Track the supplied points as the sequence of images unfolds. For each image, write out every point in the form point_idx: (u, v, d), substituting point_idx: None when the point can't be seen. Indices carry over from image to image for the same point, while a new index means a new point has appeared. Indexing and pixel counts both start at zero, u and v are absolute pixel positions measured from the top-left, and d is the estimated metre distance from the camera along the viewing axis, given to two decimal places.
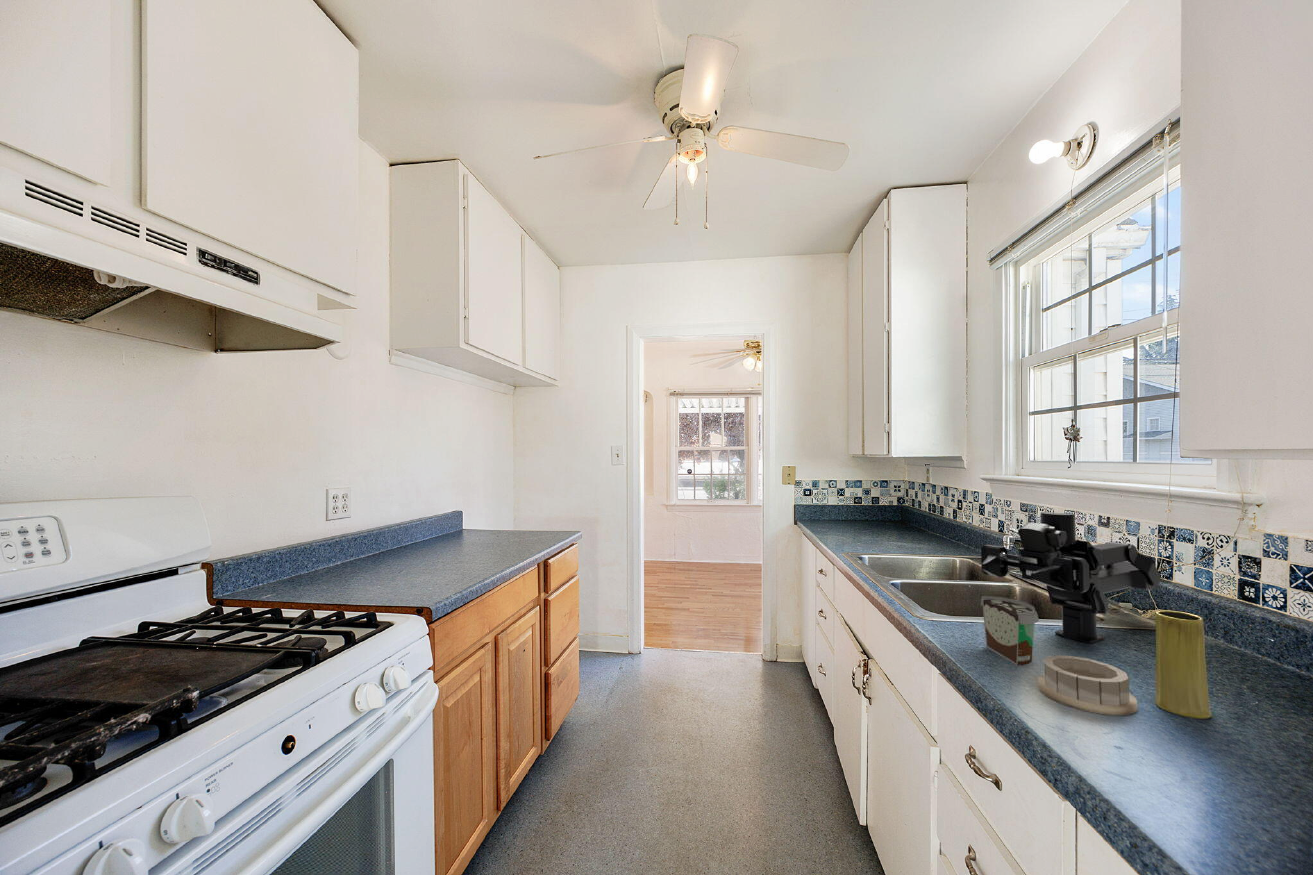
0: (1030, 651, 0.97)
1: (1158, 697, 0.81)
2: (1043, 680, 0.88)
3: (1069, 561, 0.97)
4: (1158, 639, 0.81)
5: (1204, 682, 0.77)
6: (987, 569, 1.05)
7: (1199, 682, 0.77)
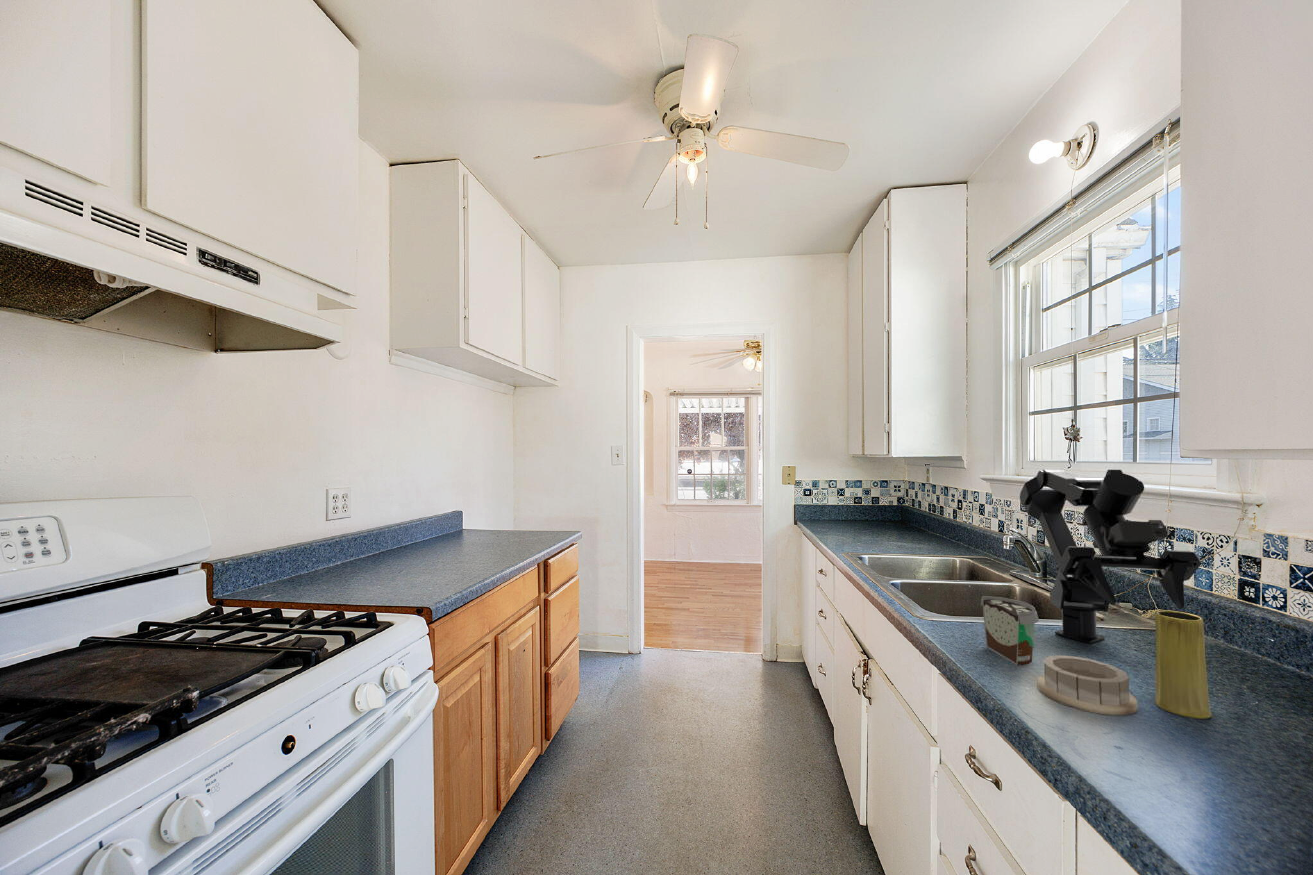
0: (1030, 651, 0.97)
1: (1158, 697, 0.81)
2: (1043, 680, 0.88)
3: (1191, 566, 0.88)
4: (1158, 639, 0.81)
5: (1204, 682, 0.77)
6: None
7: (1199, 682, 0.77)
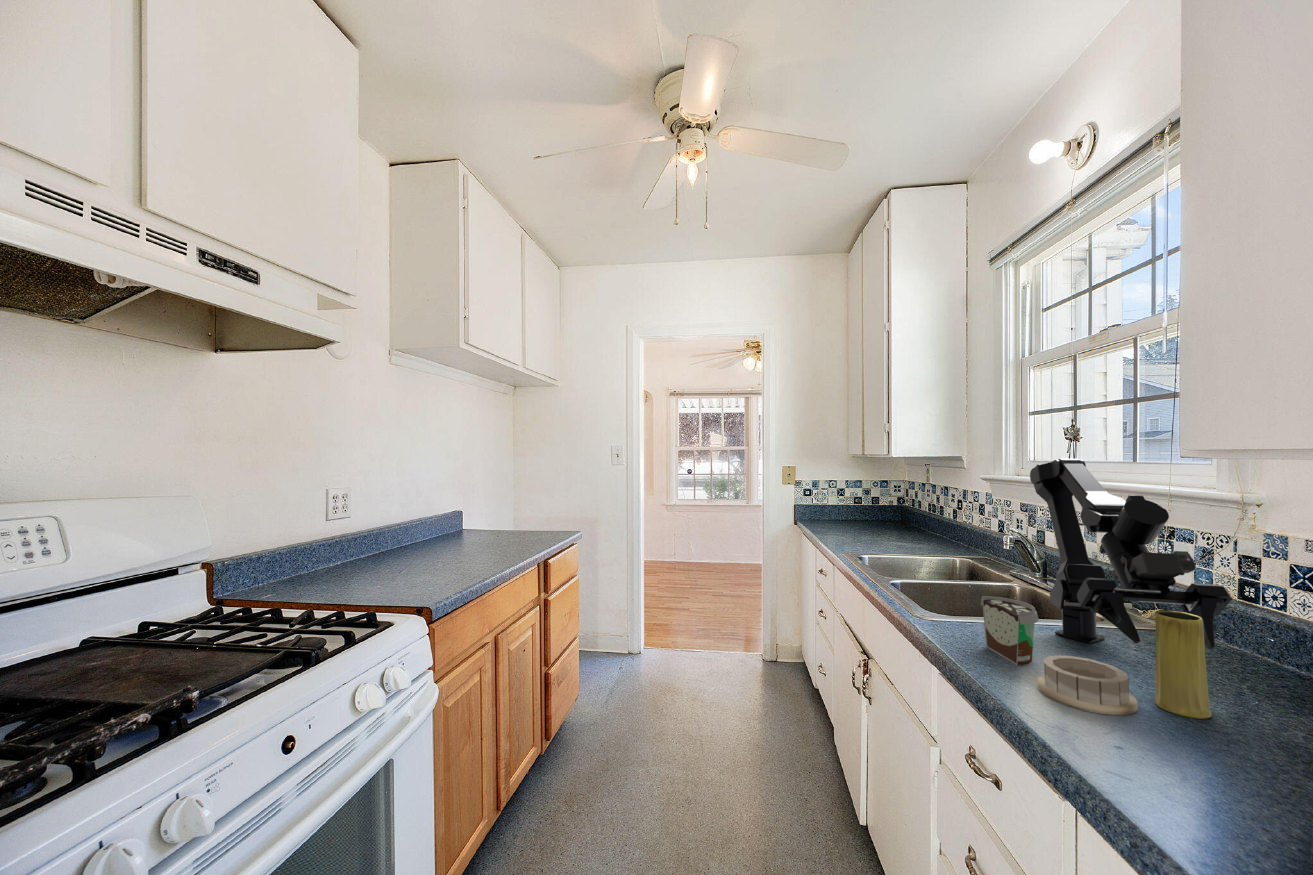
0: (1030, 651, 0.97)
1: (1158, 697, 0.81)
2: (1043, 680, 0.88)
3: (1221, 602, 0.82)
4: (1158, 639, 0.81)
5: (1204, 682, 0.77)
6: None
7: (1199, 682, 0.77)
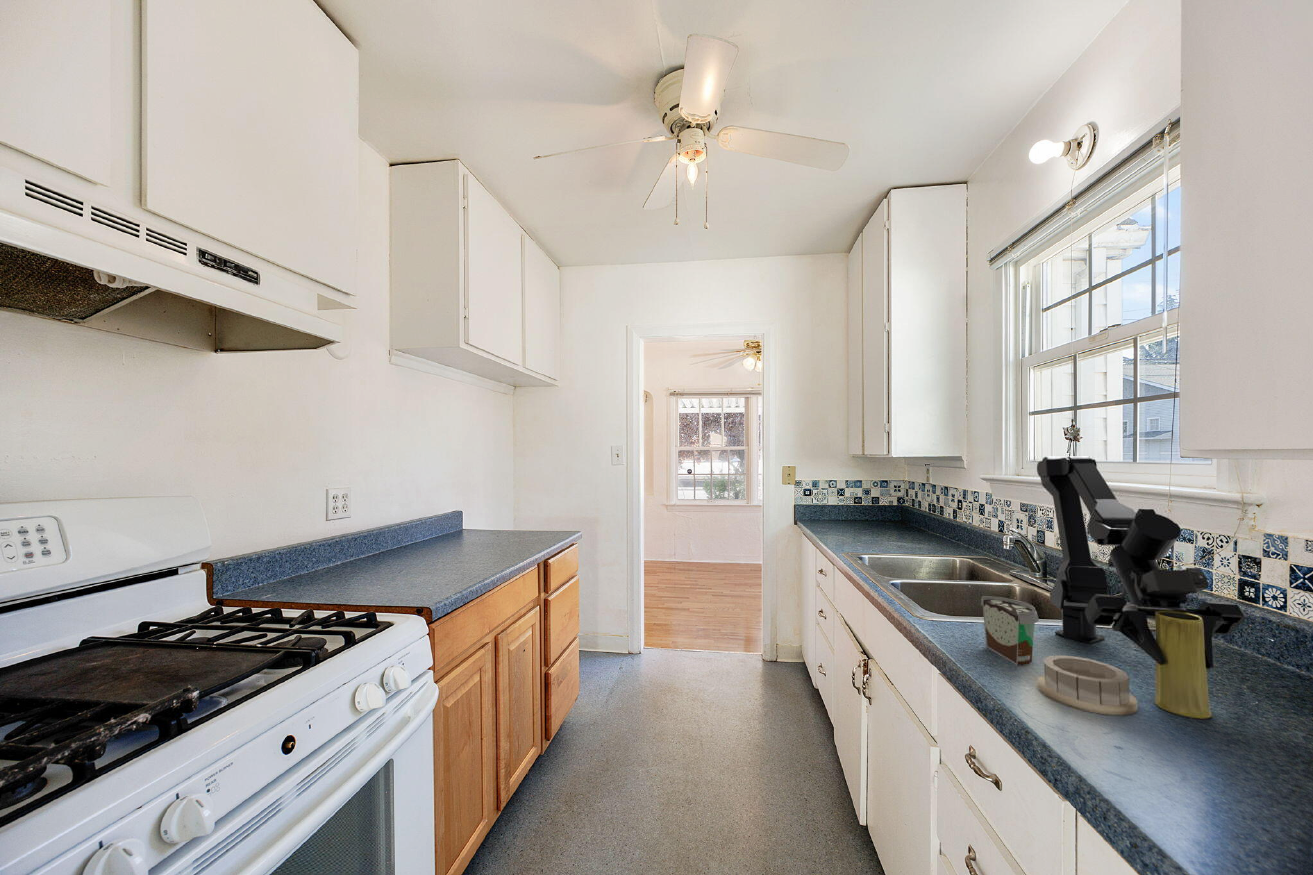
0: (1030, 651, 0.97)
1: (1158, 697, 0.81)
2: (1043, 680, 0.88)
3: (1221, 620, 0.79)
4: (1158, 639, 0.81)
5: (1204, 682, 0.77)
6: None
7: (1199, 682, 0.77)
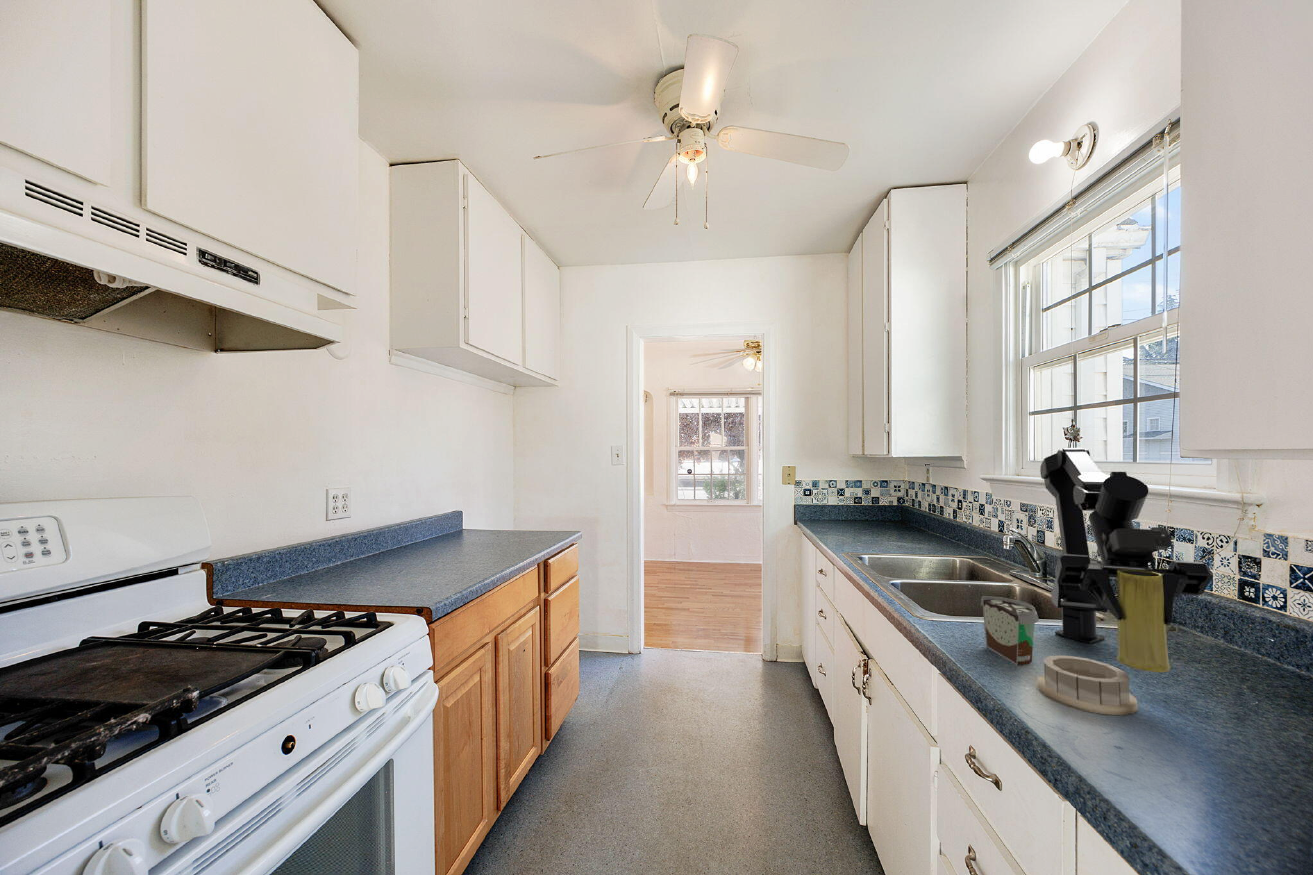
0: (1030, 651, 0.97)
1: (1119, 652, 0.83)
2: (1043, 680, 0.88)
3: (1185, 578, 0.80)
4: (1118, 596, 0.83)
5: (1161, 637, 0.79)
6: None
7: (1155, 637, 0.79)
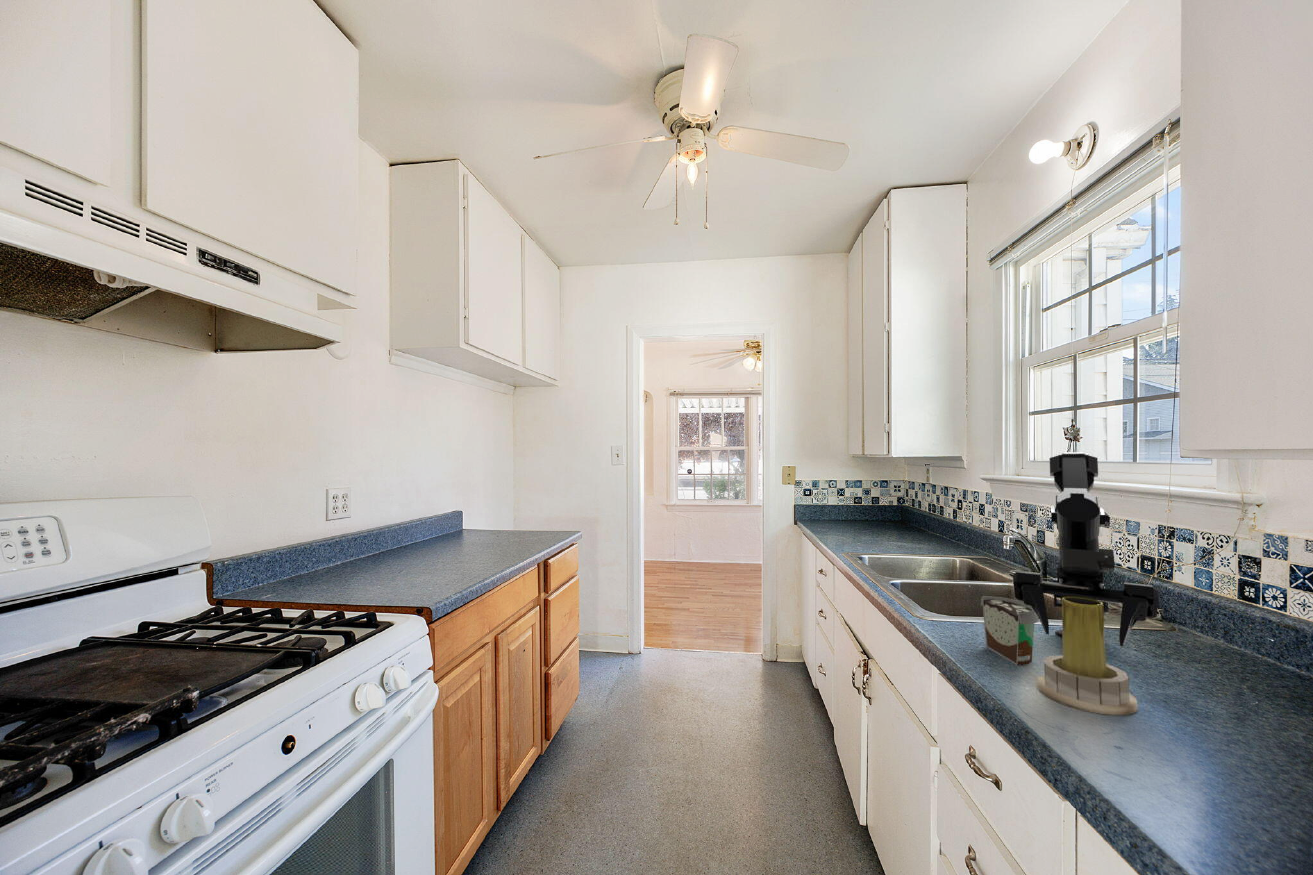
0: (1030, 651, 0.97)
1: None
2: (1043, 680, 0.88)
3: (1144, 602, 0.81)
4: None
5: (1098, 664, 0.82)
6: None
7: (1091, 663, 0.82)
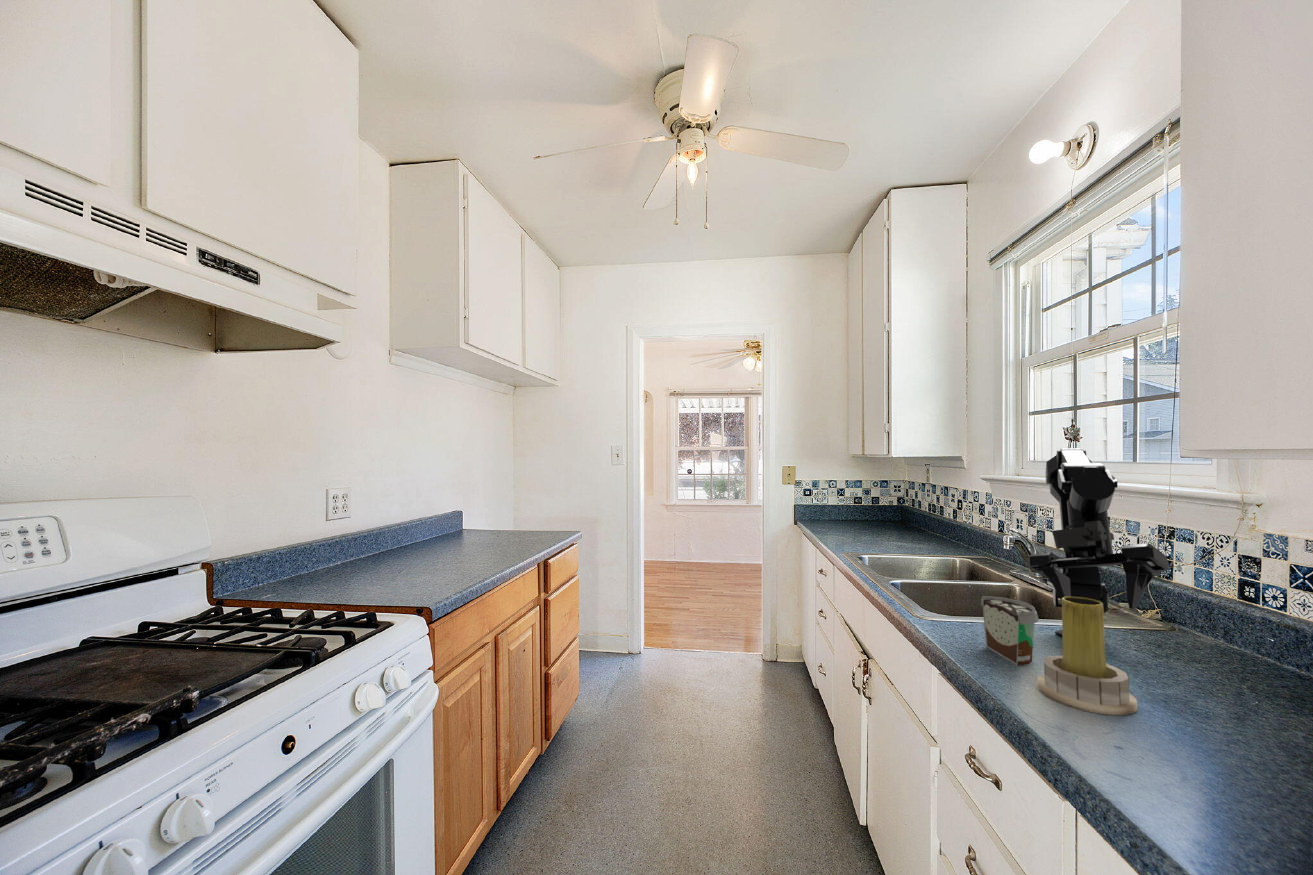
0: (1030, 651, 0.97)
1: None
2: (1043, 680, 0.88)
3: (1141, 563, 0.84)
4: None
5: (1098, 664, 0.82)
6: None
7: (1091, 663, 0.82)
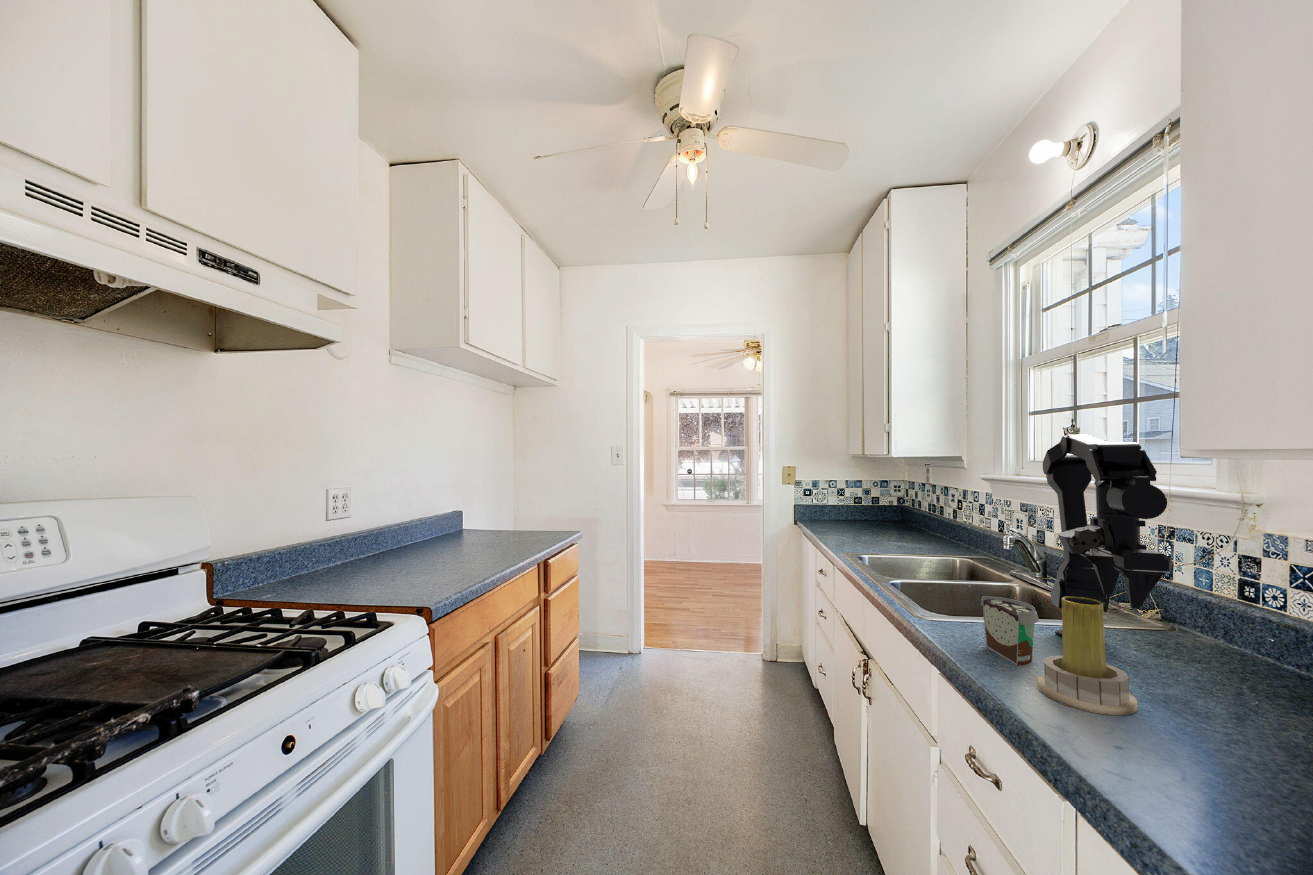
0: (1030, 651, 0.97)
1: None
2: (1043, 680, 0.88)
3: (1124, 572, 0.86)
4: (1062, 622, 0.86)
5: (1098, 664, 0.82)
6: (1112, 587, 0.96)
7: (1091, 663, 0.82)
